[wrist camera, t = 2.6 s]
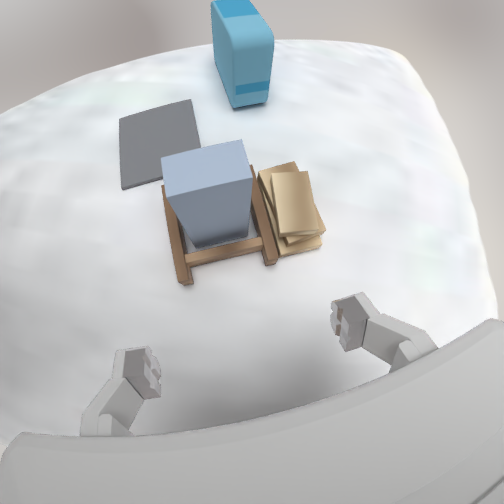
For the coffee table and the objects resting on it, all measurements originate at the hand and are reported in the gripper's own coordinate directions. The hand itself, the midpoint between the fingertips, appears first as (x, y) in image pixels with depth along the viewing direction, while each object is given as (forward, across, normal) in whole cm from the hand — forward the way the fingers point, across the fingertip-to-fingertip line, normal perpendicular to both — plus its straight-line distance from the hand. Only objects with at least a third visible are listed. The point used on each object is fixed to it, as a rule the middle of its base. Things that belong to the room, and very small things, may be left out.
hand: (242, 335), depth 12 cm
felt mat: (+28, +5, -5) cm, 29 cm away
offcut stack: (+19, -8, +4) cm, 21 cm away
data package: (+34, -7, -10) cm, 36 cm away
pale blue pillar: (+19, 0, +4) cm, 20 cm away
